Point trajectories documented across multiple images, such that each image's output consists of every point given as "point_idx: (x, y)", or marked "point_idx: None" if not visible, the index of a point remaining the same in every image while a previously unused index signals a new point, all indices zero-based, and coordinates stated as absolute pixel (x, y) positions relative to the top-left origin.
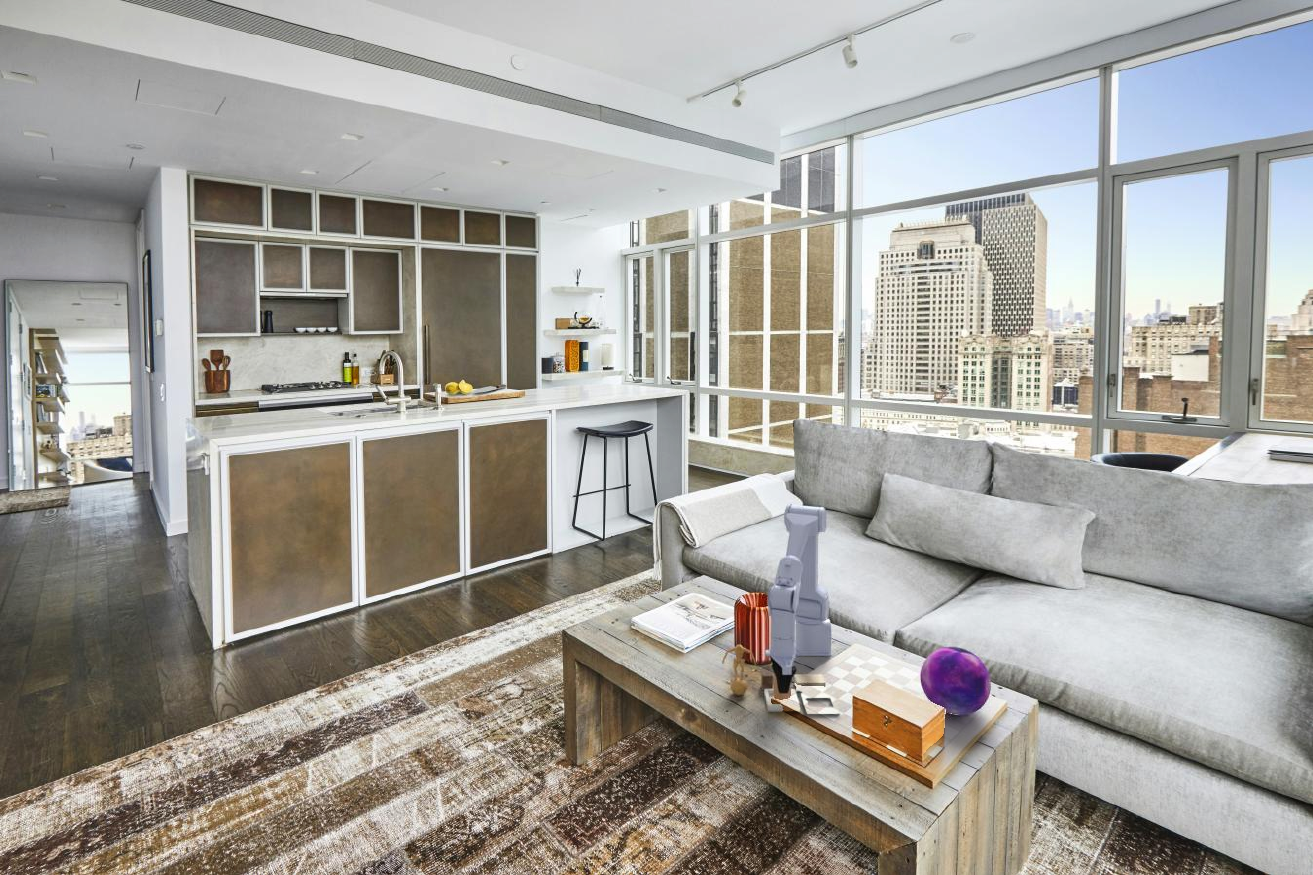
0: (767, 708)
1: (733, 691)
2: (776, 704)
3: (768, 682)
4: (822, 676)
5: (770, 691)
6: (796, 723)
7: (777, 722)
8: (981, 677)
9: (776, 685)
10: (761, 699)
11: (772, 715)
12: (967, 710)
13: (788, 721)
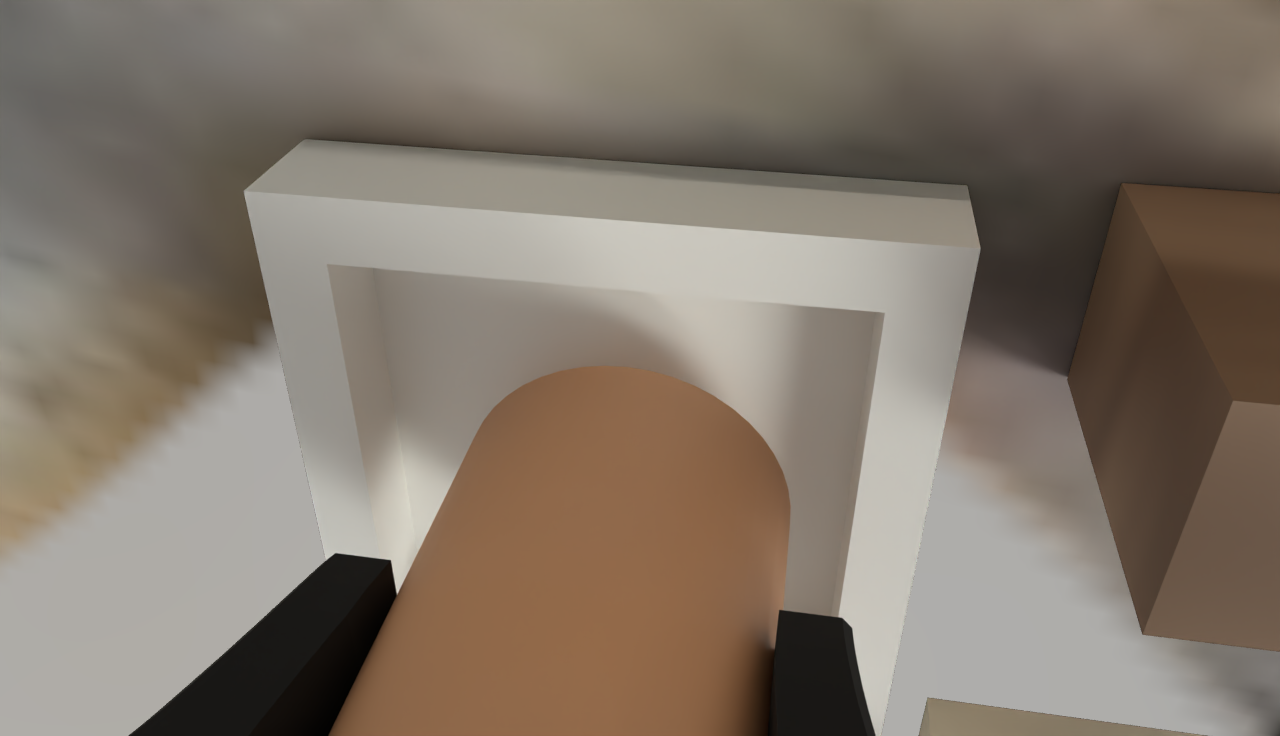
0: (370, 151)
1: None
2: (328, 355)
3: (1131, 416)
4: None
5: (878, 351)
6: (84, 476)
7: (18, 231)
8: None
9: (412, 625)
10: (761, 91)
11: (203, 193)
12: None
13: (100, 392)
